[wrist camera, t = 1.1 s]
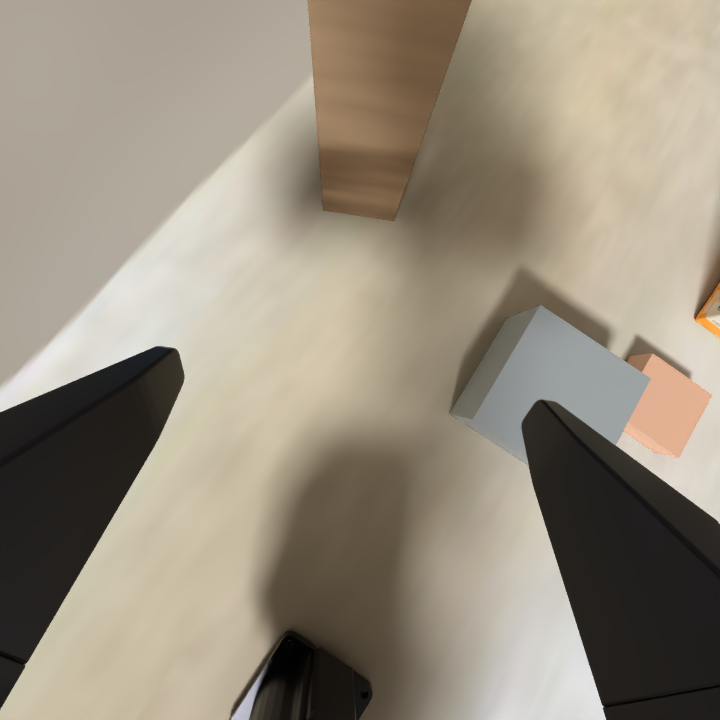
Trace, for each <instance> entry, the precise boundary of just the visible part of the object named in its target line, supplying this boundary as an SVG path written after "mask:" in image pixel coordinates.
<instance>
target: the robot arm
mask: <svg viewBox="0 0 720 720" xmlns="http://www.w3.org/2000/svg"><path fill="white" fill-rule="evenodd" d="M183 383H184V371H183V367H182V363H181V359H180V355H179V352H178V351H177V349H175V348H171V347H164V346H156V347H154V348H151V349H149V350H147V351H144V352H142V353H139V354H137V355H135V356H132V357H130V358H128V359H125V360H123V361H121V362H118V363H116V364H113V365H111V366H109V367H106V368H104V369H102V370H99V371H97V372H95V373H92V374H90V375H87V376H85V377H83V378H80V379H78V380H76V381H73V382H71V383H69V384H66V385H64V386H61V387H59V388H57V389H54V390H52V391H50V392H47V393H45V394H43V395H40V396H38V397H35V398H33V399H31V400H28V401H26V402H24V403H21V404H19V405H17V406H14V407H12V408H9V409H7V410H5V411H2V412H0V709H1V707H2V706H3V704H4V702H5V700H6V699H7V697H8V695H9V694H10V692H11V690H12V689H13V687H14V685H15V683H16V682H17V680H18V678H19V677H20V675H21V673H22V671H23V670H24V668H25V664H26V663H27V662H28V661H29V659H30V657H31V655H32V654H33V652H34V650H35V649H36V647H37V645H38V644H39V642H40V640H41V638H42V637H43V635H44V633H45V632H46V630H47V628H48V627H49V625H50V623H51V621H52V620H53V618H54V616H55V615H56V613H57V611H58V610H59V608H60V606H61V604H62V603H63V601H64V599H65V598H66V596H67V594H68V592H69V591H70V589H71V587H72V586H73V584H74V582H75V581H76V579H77V577H78V575H79V574H80V572H81V570H82V569H83V567H84V565H85V564H86V562H87V560H88V558H89V557H90V555H91V553H92V552H93V550H94V548H95V546H96V545H97V543H98V541H99V540H100V538H101V536H102V535H103V533H104V531H105V529H106V528H107V526H108V524H109V523H110V521H111V519H112V518H113V516H114V514H115V512H116V511H117V509H118V507H119V506H120V504H121V502H122V501H123V499H124V497H125V495H126V494H127V492H128V490H129V489H130V487H131V485H132V483H133V482H134V480H135V478H136V477H137V475H138V473H139V472H140V470H141V468H142V466H143V465H144V463H145V461H146V460H147V458H148V456H149V455H150V453H151V451H152V449H153V448H154V446H155V444H156V442H157V441H158V439H159V437H160V435H161V433H162V431H163V428H164V426H165V424H166V422H167V419H168V417H169V415H170V413H171V410H172V408H173V406H174V403H175V401H176V399H177V397H178V394H179V392H180V390H181V388H182V385H183ZM521 430H522V435H523V440H524V445H525V450H526V455H527V459H528V464H529V469H530V474H531V479H532V483H533V486H534V490H535V493H536V497H537V500H538V503H539V506H540V509H541V512H542V516H543V519H544V522H545V525H546V528H547V531H548V535H549V538H550V541H551V544H552V547H553V551H554V554H555V557H556V560H557V563H558V566H559V570H560V573H561V576H562V579H563V582H564V586H565V589H566V592H567V595H568V598H569V601H570V605H571V608H572V611H573V614H574V617H575V621H576V624H577V627H578V630H579V633H580V636H581V640H582V643H583V646H584V649H585V652H586V655H587V659H588V662H589V665H590V668H591V671H592V675H593V678H594V681H595V684H596V687H597V690H598V694H599V697H600V700H601V703H602V705H603V706H604V707H603V710H604V714H605V717H606V720H720V524H719V523H718V521H717V520H716V519H714V518H713V517H712V516H710V515H709V514H707V513H706V512H705V511H703V510H702V509H701V508H699V507H698V506H697V505H695V504H694V503H693V502H691V501H690V500H689V499H687V498H686V497H684V496H683V495H682V494H680V493H679V492H678V491H676V490H675V489H674V488H672V487H671V486H670V485H668V484H667V483H666V482H664V481H663V480H661V479H660V478H659V477H657V476H656V475H655V474H653V473H652V472H651V471H649V470H648V469H647V468H645V467H644V466H643V465H641V464H640V463H639V462H637V461H636V460H634V459H633V458H632V457H630V456H629V455H628V454H626V453H625V452H624V451H622V450H621V449H620V448H618V447H617V446H616V445H614V444H613V443H611V442H610V441H609V440H607V439H606V438H605V437H603V436H602V435H601V434H599V433H598V432H597V431H595V430H594V429H593V428H591V427H590V426H589V425H587V424H586V423H584V422H583V421H582V420H580V419H579V418H578V417H576V416H575V415H574V414H572V413H571V412H570V411H568V410H567V409H566V408H564V407H563V406H561V405H560V404H559V403H557V402H555V401H551V400H544V399H540V400H537V401H536V402H535V403H534V404H533V406H532V407H531V409H530V410H529V411H528V413H527V414H526V416H525V417H524V419H523V421H522V424H521ZM287 640H292V641H293V643H287ZM362 690H366V692H364V693H362V692H361V691H362ZM371 698H372V686H371V683H370V682H369V681H368V680H366V679H365V678H363V677H362V676H360V675H359V674H357V673H356V672H354V671H353V670H352V668H351V667H349V666H348V665H346V664H345V663H343V662H342V661H340V660H339V659H337V658H336V657H334V656H333V655H331V654H330V653H328V652H327V651H325V650H324V649H322V648H321V647H317V646H316V645H314V644H313V643H311V642H310V641H308V640H307V639H305V638H304V637H302V636H301V635H299V634H298V633H296V632H295V631H287V632H286V633H285V634H284V635H283V636H282V638H281V639H280V641H279V643H278V644H277V646H276V647H275V649H274V650H273V652H272V653H271V655H270V656H269V658H268V660H267V661H266V663H265V664H264V666H263V667H262V669H261V670H260V672H259V673H258V675H257V677H256V678H255V680H254V681H253V683H252V684H251V686H250V687H249V689H248V690H247V692H246V693H245V695H244V697H243V698H242V700H241V701H240V703H239V704H238V706H237V707H236V709H235V710H234V712H233V714H232V715H231V717H230V718H229V720H359V718H360V717H361V715H362V713H363V712H364V710H365V708H366V707H367V705H368V703H369V702H370V700H371Z"/></svg>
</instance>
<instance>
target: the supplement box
mask: <svg viewBox="0 0 720 720" xmlns="http://www.w3.org/2000/svg"><path fill="white" fill-rule="evenodd" d="M696 321H697V322H698V323H700V324H702V325H703V326H704V327H705V328H707V329H708V330H709V331H710V332H712V333H713V334H714V335H716V336H717V337H719V338H720V282H719V284H718V286H717V287H716V289H715V291H714V292H713V294H712V295H711V296H710V298H709V299H708V301H707V302H706V303H705V305H704V306H703V308H702V309H701V311H700V312H699V314H698V315H697V317H696Z"/></svg>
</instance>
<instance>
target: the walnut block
mask: <svg viewBox="0 0 720 720" xmlns="http://www.w3.org/2000/svg"><path fill="white" fill-rule="evenodd" d="M470 3H471V0H308V11H309V25H310V38H311V50H312V65H313V79H314V93H315V106H316V120H317V133H318V147H319V160H320V174H321V188H322V201H323V210H325V211H332V212H338V213H345V214H352V215H358V216H365V217H371V218H378V219H385V220H391V221H394V219H395V216H396V213H397V210H398V207H399V204H400V202H401V199H402V196H403V193H404V190H405V187H406V185H407V182H408V179H409V176H410V173H411V170H412V168H413V165H414V162H415V159H416V156H417V153H418V151H419V148H420V145H421V142H422V139H423V136H424V134H425V131H426V128H427V125H428V122H429V119H430V117H431V114H432V111H433V108H434V105H435V102H436V99H437V97H438V94H439V91H440V88H441V85H442V82H443V80H444V77H445V74H446V71H447V68H448V65H449V63H450V60H451V57H452V54H453V51H454V48H455V46H456V43H457V40H458V37H459V34H460V31H461V29H462V26H463V23H464V20H465V17H466V14H467V12H468V9H469V6H470Z"/></svg>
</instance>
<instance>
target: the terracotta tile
mask: <svg viewBox="0 0 720 720" xmlns="http://www.w3.org/2000/svg"><path fill="white" fill-rule="evenodd" d="M627 363H628V364H630V365H631V366H633V367H634V368H636V369H637V370H639V371H640V372H642V373H643V374H645V375H646V376H648V377H649V378H651V380H650V381H649V383H648V385H647V387H646V389H645V391H644V393H643V395H642V396H641V398H640V400H639V402H638V404H637V406H636V408H635V410H634V412H633V413H632V415H631V417H630V419H629V421H628V423H627V425H626V427H625V428H624V430H623V431H624V432H625V433H627V434H628V435H629V436H631V437H632V438H634V439H635V440H637V441H638V442H639V443H641V444H642V445H644V446H645V447H647V448H648V449H650V450H651V451H652V452H654V453H658V454H662V455H667V456H672V457H676V458H679V457H680V455H681V453H682V451H683V449H684V447H685V446H686V444H687V442H688V440H689V438H690V436H691V434H692V432H693V431H694V429H695V427H696V425H697V423H698V421H699V419H700V417H701V416H702V414H703V412H704V410H705V408H706V406H707V404H708V402H709V401H710V399H711V397H712V394H710V393H709V392H707V391H706V390H705V389H703V388H702V387H700V386H699V385H697V384H696V383H695V382H693V381H692V380H690V379H689V378H687V377H686V376H685V375H683V374H682V373H680V372H679V371H677V370H676V369H675V368H673V367H672V366H670V365H669V364H667V363H666V362H665V361H663V360H662V359H660V358H659V357H657V356H656V355H655V354H653V353H650V354H640V355H630V357H629V359H628V360H627Z"/></svg>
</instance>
